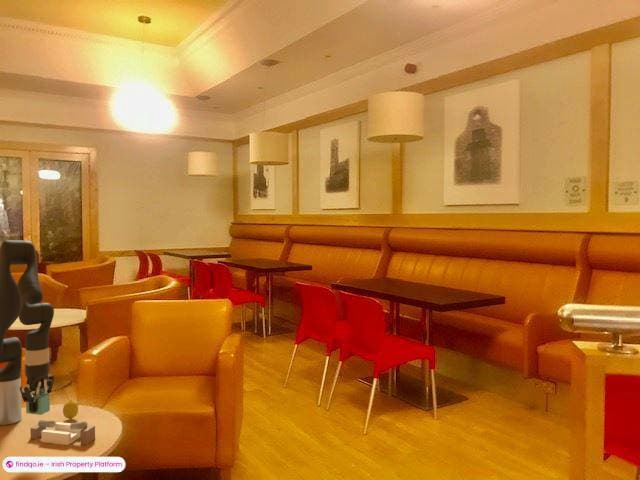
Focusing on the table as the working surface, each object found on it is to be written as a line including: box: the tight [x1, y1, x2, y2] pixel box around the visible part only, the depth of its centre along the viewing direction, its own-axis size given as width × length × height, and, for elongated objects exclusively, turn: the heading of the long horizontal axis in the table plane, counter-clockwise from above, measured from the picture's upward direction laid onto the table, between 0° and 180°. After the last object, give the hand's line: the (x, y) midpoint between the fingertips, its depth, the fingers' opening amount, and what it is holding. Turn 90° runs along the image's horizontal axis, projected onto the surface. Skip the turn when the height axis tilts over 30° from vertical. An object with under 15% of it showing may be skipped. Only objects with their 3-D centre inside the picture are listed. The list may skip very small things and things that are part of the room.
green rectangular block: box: [25, 393, 51, 416], centre depth 181 cm, size 6×4×6 cm, turn 78°
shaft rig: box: [29, 419, 96, 446], centre depth 194 cm, size 23×9×7 cm, turn 78°
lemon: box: [62, 399, 79, 420], centre depth 211 cm, size 6×6×8 cm
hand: (37, 409), depth 181 cm, fingers closed on green rectangular block, 4 cm apart
